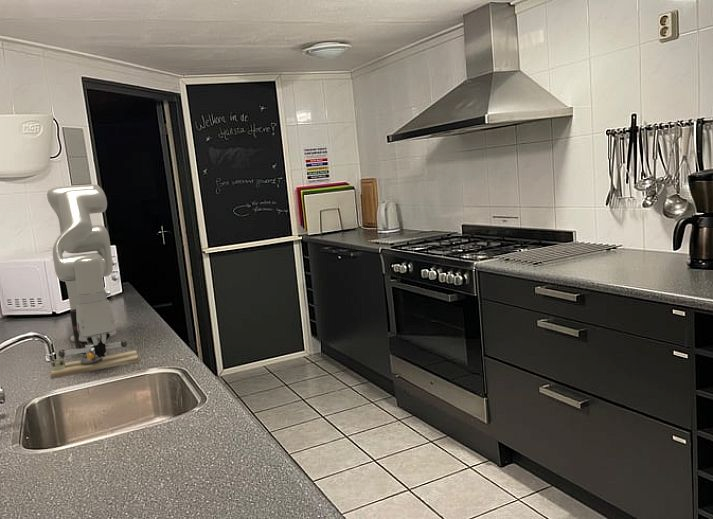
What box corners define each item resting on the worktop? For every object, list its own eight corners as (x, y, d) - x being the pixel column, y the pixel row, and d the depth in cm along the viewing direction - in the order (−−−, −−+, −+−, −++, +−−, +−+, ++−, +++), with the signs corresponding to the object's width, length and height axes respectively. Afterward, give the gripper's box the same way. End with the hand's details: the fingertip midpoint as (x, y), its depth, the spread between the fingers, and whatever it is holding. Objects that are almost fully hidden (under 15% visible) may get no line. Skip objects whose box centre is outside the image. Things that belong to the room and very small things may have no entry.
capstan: (130, 347, 202) (128, 331, 201) (127, 363, 183) (125, 346, 182) (64, 357, 196) (62, 341, 195) (55, 375, 177) (52, 358, 176)
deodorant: (88, 354, 203) (81, 311, 201) (72, 354, 205) (66, 312, 202) (98, 349, 209) (92, 307, 207) (83, 349, 210) (77, 307, 208)
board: (53, 368, 190) (51, 356, 189) (136, 353, 200) (134, 341, 199) (51, 378, 180) (49, 365, 179) (138, 361, 190) (137, 349, 189)
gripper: (114, 291, 188) (122, 348, 191) (63, 301, 180) (72, 359, 183) (121, 294, 182) (129, 352, 185) (68, 304, 174) (77, 365, 177)
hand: (101, 356), depth 184 cm, fingers closed
